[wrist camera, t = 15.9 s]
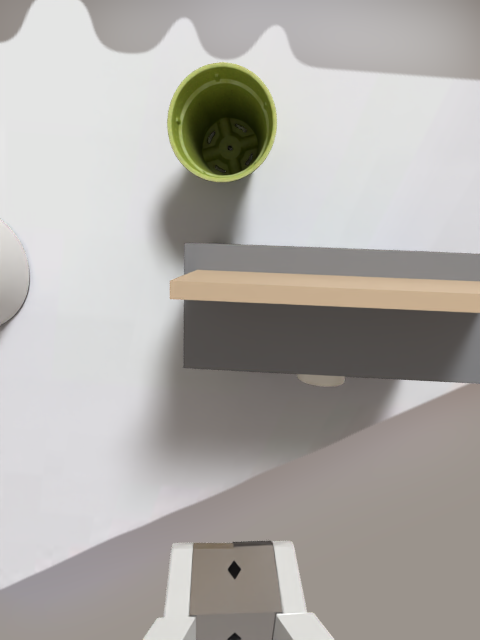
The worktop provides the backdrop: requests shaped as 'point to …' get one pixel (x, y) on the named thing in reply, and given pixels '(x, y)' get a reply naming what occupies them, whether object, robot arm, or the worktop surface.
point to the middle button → (321, 380)
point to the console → (331, 311)
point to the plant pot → (221, 122)
